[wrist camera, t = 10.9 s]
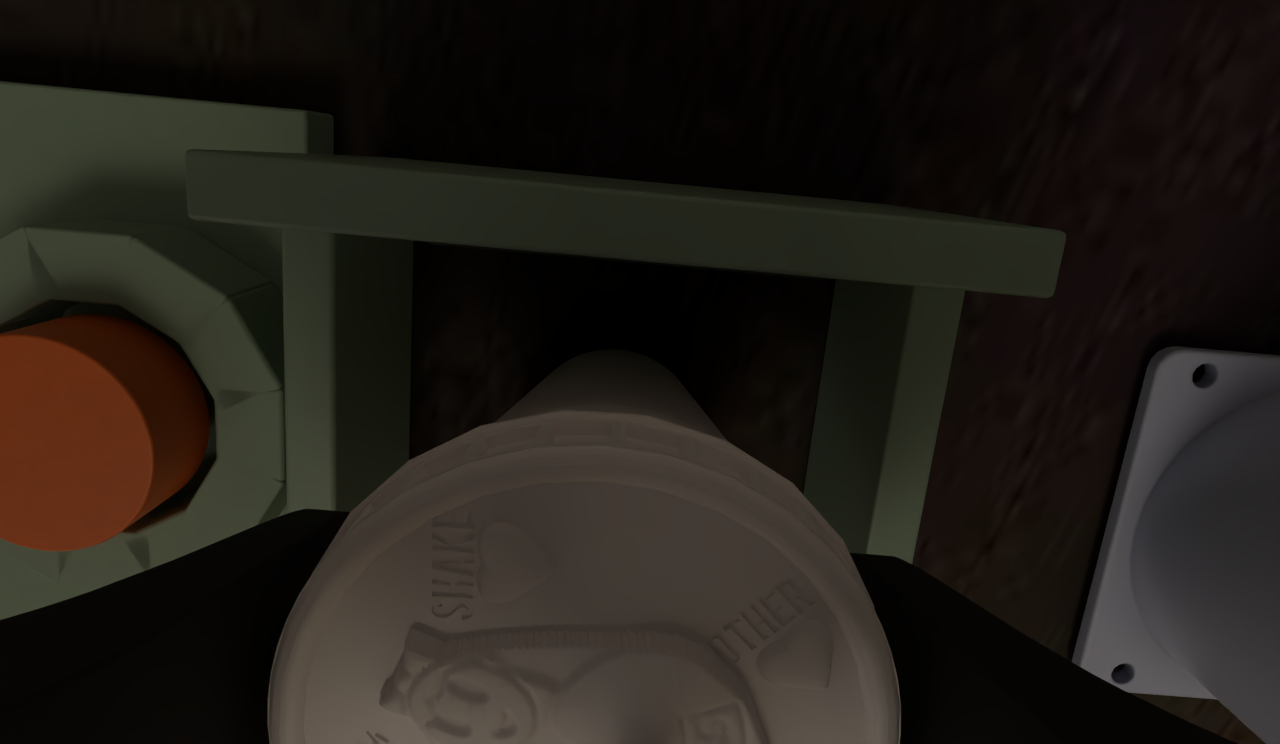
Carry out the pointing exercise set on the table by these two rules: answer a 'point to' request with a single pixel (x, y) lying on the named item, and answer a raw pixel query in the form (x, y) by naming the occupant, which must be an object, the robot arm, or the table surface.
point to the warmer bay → (628, 232)
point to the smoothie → (586, 590)
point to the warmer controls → (150, 297)
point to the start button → (92, 429)
